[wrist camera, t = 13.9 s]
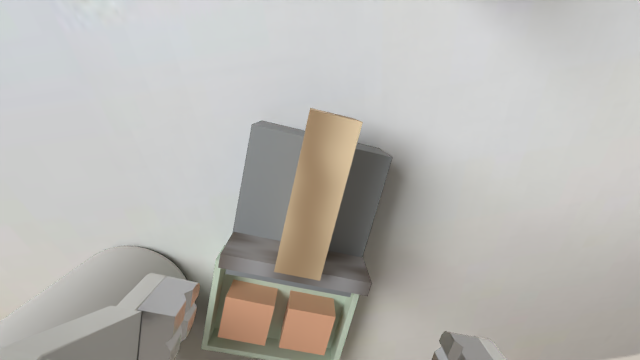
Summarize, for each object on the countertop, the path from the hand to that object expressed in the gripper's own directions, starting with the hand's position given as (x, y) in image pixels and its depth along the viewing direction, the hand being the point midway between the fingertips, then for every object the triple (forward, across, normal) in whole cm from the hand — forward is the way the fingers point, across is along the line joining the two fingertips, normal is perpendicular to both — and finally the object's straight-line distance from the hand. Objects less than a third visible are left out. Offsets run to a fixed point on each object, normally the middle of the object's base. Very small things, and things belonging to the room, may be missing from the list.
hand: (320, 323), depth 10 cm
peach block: (+18, -3, +16) cm, 24 cm away
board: (+21, 0, +3) cm, 22 cm away
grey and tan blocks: (+16, 0, 0) cm, 16 cm away
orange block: (+18, +4, +16) cm, 24 cm away
